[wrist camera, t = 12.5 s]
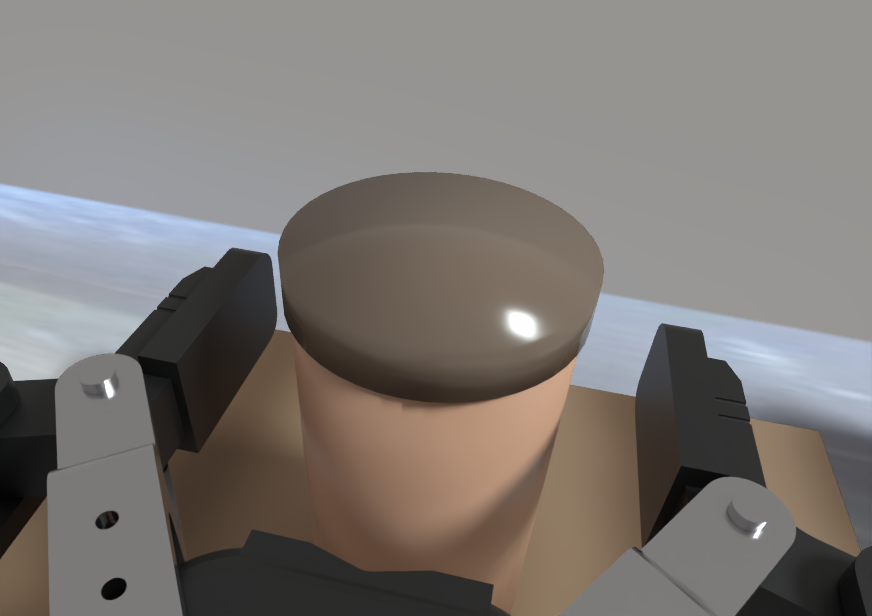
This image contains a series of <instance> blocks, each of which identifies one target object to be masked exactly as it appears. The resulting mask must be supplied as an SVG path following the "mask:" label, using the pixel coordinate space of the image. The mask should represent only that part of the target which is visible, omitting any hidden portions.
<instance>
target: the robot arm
mask: <svg viewBox="0 0 872 616" xmlns="http://www.w3.org/2000/svg"><path fill="white" fill-rule="evenodd" d="M276 322H277V306H276V296H275V287H274V277H273V268H272V261H271V258H270V256H269V255H268V254H267V253H261V252H255V251H250V250H244V249H238V248H231V249H229V250H228V251H227V253H226V254H225V255H224V256H223V257H222V258H221V259H220V261H219V262H218V263H217V264H216V265H215V266H214V268H210V267H203V268H201V269H199V270H198V271H196V272H194V273H192V274H190V275H189V276H187V277H185V278H183V279H182V280H181V281H180V282H179V283H178V285H177V286H176V287H175V288H174V289H173V290H172V291H171V292H170V293H169V297H166V298H165V299H164V300H163V301H162V302H161V303H160V304H159V305H158V306H157V310H154V311H153V312H152V313H151V314H150V315H149V316H148V317H147V319H146V320H145V321H144V322H143V323H142V324H141V325H140V326H139V327H138V328H137V329H136V331H135V332H134V333H133V334H132V335H131V336H130V337H129V338H128V339H127V340H126V342H125V343H124V344H123V345H122V346H121V347H120V348H119V349H118V350H117V351H116V352H115V354H102V355H96V356H93V357H89V358H87V359H84V360H82V361H80V362H78V363H76V364H74V365H73V366H71V367H70V368H68V369H67V370H66V371H65V372H64V373H63V374H62V375H61V376H60V378H59V379H45V380H25V381H13V379H12V377H11V375H10V373H9V370H8V368H7V367H6V366H5V365H4V364H3V363H1V362H0V559H1V558H2V556H3V555H4V554H5V552H6V551H7V549H8V548H9V547H10V545H11V544H12V543H13V541H14V540H15V539H16V537H17V536H18V535H19V533H20V532H21V531H22V529H23V528H24V527H25V525H26V524H27V523H28V521H29V520H30V518H31V517H32V516H33V514H34V513H35V512H36V510H37V509H38V508H39V506H40V505H41V504H42V502H43V501H44V500H45V498H46V497H47V509H48V559H49V609H50V616H511V615H510V614H508V613H507V612H505V611H504V610H502V609H500V608H498V607H497V606H495V605H493V604H491V601H492V594H493V587H494V584H489V583H485V582H481V581H476V580H472V579H468V578H463V577H459V576H454V575H450V574H446V573H441V572H437V571H433V570H430V571H375V572H372V571H364V570H362V569H359V568H357V567H355V566H353V565H352V564H350V563H348V562H346V561H344V560H342V559H340V558H338V557H336V556H334V555H333V554H331V553H329V552H327V551H325V550H323V549H321V548H319V547H317V546H315V545H314V544H312V543H310V542H306V541H301V540H297V539H293V538H288V537H284V536H280V535H275V534H271V533H266V532H262V531H258V530H253V529H252V530H251V532H250V534H249V536H248V538H247V540H246V542H245V544H244V546H243V548H230V549H223V550H218V551H214V552H210V553H206V554H203V555H201V556H198V557H195V558H192V559H190V560H189V558H188V554H187V549H186V545H185V540H184V535H183V530H182V525H181V520H180V515H179V510H178V505H177V500H176V495H175V490H174V484H173V479H172V474H171V469H170V466H169V462H168V461H169V460H170V459H171V457H172V456H173V454H174V453H175V451H176V450H177V449H180V450H184V451H189V452H194V453H199V452H200V450H201V449H202V447H203V445H204V444H205V442H206V441H207V439H208V438H209V436H210V435H211V433H212V431H213V430H214V428H215V427H216V425H217V424H218V422H219V420H220V419H221V417H222V416H223V414H224V413H225V411H226V409H227V408H228V406H229V405H230V403H231V402H232V400H233V398H234V397H235V395H236V394H237V392H238V391H239V389H240V387H241V386H242V384H243V383H244V381H245V380H246V378H247V377H248V375H249V373H250V372H251V370H252V369H253V367H254V366H255V364H256V362H257V361H258V359H259V358H260V356H261V355H262V353H263V351H264V350H265V348H266V347H267V345H268V344H269V342H270V340H271V339H272V336H273V334H274V331H275V327H276ZM635 425H636V444H637V464H638V484H639V504H640V524H641V544H642V549H640V550H639V549H638V548H637V547H632V548H630V549H629V550H627V551H626V552H625V553H624V554H623V555H621V556H620V557H619V558H618V559H617V560H616V561H615V562H614V563H613V564H612V565H611V566H610V567H609V568H608V569H607V570H606V571H605V572H604V573H603V574H602V575H601V576H599V577H598V578H597V579H596V580H595V581H594V582H593V583H592V584H591V585H590V586H589V587H588V588H587V589H586V590H585V591H584V592H583V593H582V594H581V595H580V596H579V597H578V598H577V599H575V600H574V601H573V602H572V603H571V604H570V605H569V606H568V607H567V608H566V609H565V610H564V611H563V612H562V613H561V614H560V615H559V616H872V546H871V547H868V548H865V549H864V550H863V551H861V552H860V553H859V555H858V556H857V557H855V556H853V555H850V554H848V553H846V552H844V551H842V550H840V549H838V548H835V547H833V546H831V545H829V544H827V543H825V542H823V541H820V540H818V539H816V538H814V537H812V536H810V535H809V534H807V533H805V532H804V531H802V530H801V529H799V528H798V527H796V526H795V521H794V519H793V517H792V514H791V513H790V511H789V510H788V508H787V507H786V505H785V504H784V503H783V502H782V501H781V500H780V499H779V498H778V497H777V496H776V495H775V494H773V493H772V492H771V491H770V490H768V489H767V487H766V483H765V479H764V475H763V470H762V466H761V462H760V458H759V454H758V450H757V446H756V441H755V437H754V433H753V429H752V425H751V424H750V416H749V412H748V408H747V407H746V400H745V396H744V392H743V387H742V383H741V381H740V379H739V378H738V377H737V375H736V374H735V373H734V372H733V370H732V369H731V368H730V366H729V365H728V364H727V362H726V361H723V360H718V359H712V358H708V357H707V352H706V347H705V341H704V336H703V333H702V331H701V330H697V329H692V328H686V327H680V326H674V325H669V324H663V323H662V324H661V325H660V326H659V327H658V330H657V332H656V335H655V338H654V340H653V343H652V346H651V349H650V352H649V355H648V357H647V360H646V363H645V366H644V369H643V371H642V374H641V377H640V380H639V384H638V388H637V393H636V400H635Z"/></svg>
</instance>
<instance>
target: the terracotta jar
mask: <svg viewBox="0 0 872 616" xmlns="http://www.w3.org/2000/svg"><path fill="white" fill-rule="evenodd" d="M278 260H279V270H280V279H281V288H282V298H283V307H284V315H285V318H286V321H287V324H288V327H289V329H290V331H291V332H292V337H293V347H294V357H295V367H296V377H297V387H298V397H299V407H300V417H301V428H302V438H303V448H304V458H305V468H306V478H307V488H308V498H309V508H310V518H311V528H312V538H313V544H314V545H315V546H317V547H319V548H321V549H323V550H325V551H327V552H329V553H331V554H333V555H334V556H336V557H338V558H340V559H342V560H344V561H346V562H348V563H350V564H352V565H353V566H355V567H357V568H359V569H362V570H364V571H372V572H375V571H430V570H433V571H437V572H441V573H446V574H450V575H454V576H459V577H463V578H468V579H472V580H476V581H481V582H485V583H489V584H494V587H493V594H492V601H491V604H493V605H495V606H497V607H498V608H500V609H502V610H504V611H505V612H507V613H508V614H510V612H511V609H512V606H513V603H514V599H515V595H516V592H517V588H518V584H519V580H520V576H521V572H522V568H523V564H524V560H525V557H526V553H527V549H528V545H529V541H530V537H531V533H532V529H533V525H534V521H535V518H536V514H537V510H538V506H539V502H540V498H541V494H542V490H543V486H544V482H545V479H546V475H547V471H548V467H549V463H550V459H551V455H552V451H553V447H554V444H555V440H556V436H557V432H558V428H559V424H560V420H561V416H562V412H563V408H564V405H565V401H566V397H567V393H568V389H569V385H570V381H571V377H572V373H573V370H574V366H575V362H576V358H577V355H578V353H579V352H580V350H581V349H582V347H583V346H584V344H585V342H586V339H587V337H588V334H589V332H590V328H591V324H592V320H593V317H594V313H595V309H596V305H597V301H598V298H599V294H600V290H601V286H602V282H603V274H604V267H603V259H602V256H601V253H600V250H599V248H598V246H597V244H596V242H595V241H594V239H593V237H592V236H591V235H590V233H589V232H588V231H587V230H586V229H585V227H584V226H583V225H581V224H580V223H579V222H578V221H577V220H576V219H575V218H574V217H573V216H571V215H570V214H569V213H567V212H566V211H565V210H563V209H562V208H560V207H558V206H557V205H555V204H553V203H552V202H550V201H548V200H546V199H544V198H542V197H540V196H538V195H536V194H534V193H531V192H529V191H526V190H523V189H521V188H518V187H515V186H512V185H509V184H506V183H502V182H498V181H494V180H490V179H486V178H480V177H475V176H469V175H461V174H452V173H436V172H414V173H399V174H390V175H383V176H377V177H372V178H367V179H363V180H360V181H356V182H352V183H349V184H346V185H343V186H340V187H337V188H335V189H333V190H331V191H328V192H326V193H324V194H322V195H320V196H319V197H317V198H315V199H314V200H312V201H310V202H309V203H308V204H306V205H305V206H304V207H303V208H301V209H300V210H299V211H298V212H297V213H296V214H295V215H294V216H293V217H292V218H291V219H290V221H289V222H288V224H287V226H286V227H285V228H284V230H283V233H282V235H281V238H280V240H279V247H278Z"/></svg>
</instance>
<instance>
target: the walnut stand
mask: <svg viewBox="0 0 872 616" xmlns="http://www.w3.org/2000/svg"><path fill="white" fill-rule="evenodd" d="M635 400H636V397H633V396H628V395H623V394H617V393H612V392H607V391H601V390H596V389H591V388H585V387H580V386H575V385H569V389H568V393H567V397H566V401H565V405H564V408H563V412H562V416H561V420H560V424H559V428H558V432H557V436H556V440H555V444H554V447H553V451H552V455H551V459H550V463H549V467H548V471H547V475H546V479H545V482H544V486H543V490H542V494H541V498H540V502H539V506H538V510H537V514H536V518H535V521H534V525H533V529H532V533H531V537H530V541H529V545H528V549H527V553H526V557H525V560H524V564H523V568H522V572H521V576H520V580H519V584H518V588H517V592H516V595H515V599H514V603H513V606H512V609H511V612H510V615H511V616H559V615H560V614H561V613H562V612H563V611H564V610H565V609H566V608H567V607H568V606H569V605H570V604H571V603H572V602H573V601H574V600H575V599H577V598H578V597H579V596H580V595H581V594H582V593H583V592H584V591H585V590H586V589H587V588H588V587H589V586H590V585H591V584H592V583H593V582H594V581H595V580H596V579H597V578H598V577H599V576H601V575H602V574H603V573H604V572H605V571H606V570H607V569H608V568H609V567H610V566H611V565H612V564H613V563H614V562H615V561H616V560H617V559H618V558H619V557H620V556H621V555H623V554H624V553H625V552H626V551H627V550H629V549H630V548H632V547H637V548H638V549H639V550H640V549H642V544H641V524H640V504H639V484H638V464H637V444H636V425H635ZM750 424H751V425H752V429H753V433H754V437H755V441H756V446H757V450H758V454H759V458H760V462H761V466H762V470H763V475H764V479H765V483H766V487H767V489H768V490H770V491H771V492H772V493H773V494H775V495H776V496H777V497H778V498H779V499H780V500H781V501H782V502H783V503H784V504H785V505H786V507H787V508H788V510H789V511H790V513H791V514H792V517H793V519H794V521H795V526H796V527H798V528H799V529H801V530H802V531H804V532H805V533H807V534H809V535H810V536H812V537H814V538H816V539H818V540H820V541H823V542H825V543H827V544H829V545H831V546H833V547H835V548H838V549H840V550H842V551H844V552H846V553H848V554H850V555H853V556H855V557H857V556H858V555H859V553H860V552H861V550H860V547H859V544H858V541H857V538H856V535H855V533H854V530H853V527H852V524H851V521H850V518H849V515H848V513H847V510H846V507H845V504H844V501H843V498H842V496H841V493H840V490H839V487H838V484H837V481H836V478H835V476H834V473H833V470H832V467H831V464H830V461H829V459H828V456H827V453H826V450H825V447H824V444H823V441H822V439H821V436H820V433H819V431H815V430H810V429H804V428H799V427H794V426H788V425H783V424H778V423H772V422H767V421H762V420H756V419H751V418H750ZM168 462H169V466H170V469H171V474H172V479H173V484H174V490H175V495H176V500H177V505H178V510H179V515H180V520H181V525H182V530H183V535H184V540H185V545H186V549H187V554H188V558H189V560H190V559H192V558H195V557H198V556H201V555H203V554H206V553H210V552H214V551H218V550H223V549H230V548H243V546H244V544H245V542H246V540H247V538H248V536H249V534H250V532H251V530H252V529H253V530H258V531H262V532H266V533H271V534H275V535H280V536H284V537H288V538H293V539H297V540H301V541H306V542H310V543H312V544H313V538H312V528H311V518H310V508H309V498H308V488H307V478H306V468H305V458H304V448H303V438H302V428H301V417H300V407H299V397H298V387H297V377H296V367H295V357H294V347H293V337H292V333H291V332H286V331H281V330H275V331H274V334H273V336H272V339H271V340H270V342H269V344H268V345H267V347H266V348H265V350H264V351H263V353H262V355H261V356H260V358H259V359H258V361H257V362H256V364H255V366H254V367H253V369H252V370H251V372H250V373H249V375H248V377H247V378H246V380H245V381H244V383H243V384H242V386H241V387H240V389H239V391H238V392H237V394H236V395H235V397H234V398H233V400H232V402H231V403H230V405H229V406H228V408H227V409H226V411H225V413H224V414H223V416H222V417H221V419H220V420H219V422H218V424H217V425H216V427H215V428H214V430H213V431H212V433H211V435H210V436H209V438H208V439H207V441H206V442H205V444H204V445H203V447H202V449H201V450H200V452H199V453H194V452H189V451H184V450H180V449H177V450H176V451H175V453H174V454H173V456H172V457H171V459H170V460H169V461H168ZM0 616H50V609H49V559H48V509H47V497H46V498H45V500H44V501H43V502H42V504H41V505H40V506H39V508H38V509H37V510H36V512H35V513H34V514H33V516H32V517H31V518H30V520H29V521H28V523H27V524H26V525H25V527H24V528H23V529H22V531H21V532H20V533H19V535H18V536H17V537H16V539H15V540H14V541H13V543H12V544H11V545H10V547H9V548H8V549H7V551H6V552H5V554H4V555H3V556H2V558H1V559H0Z"/></svg>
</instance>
